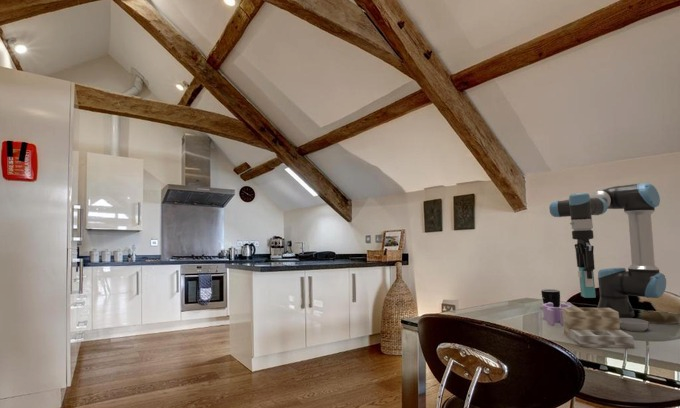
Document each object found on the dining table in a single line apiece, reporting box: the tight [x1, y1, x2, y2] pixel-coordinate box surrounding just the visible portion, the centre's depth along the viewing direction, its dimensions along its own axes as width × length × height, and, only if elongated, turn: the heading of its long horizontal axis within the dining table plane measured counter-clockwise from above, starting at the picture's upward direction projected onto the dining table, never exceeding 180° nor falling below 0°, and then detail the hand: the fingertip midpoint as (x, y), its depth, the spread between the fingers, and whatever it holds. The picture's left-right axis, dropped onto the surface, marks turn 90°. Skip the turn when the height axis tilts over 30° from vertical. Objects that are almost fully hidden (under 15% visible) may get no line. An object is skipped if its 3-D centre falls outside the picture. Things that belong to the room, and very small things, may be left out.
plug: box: [577, 267, 597, 299], centre depth 157 cm, size 5×4×12 cm
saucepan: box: [619, 317, 650, 332], centre depth 164 cm, size 11×18×4 cm, turn 92°
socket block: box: [562, 307, 635, 349], centre depth 151 cm, size 18×18×11 cm
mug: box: [541, 288, 561, 307], centre depth 206 cm, size 12×9×10 cm
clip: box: [542, 302, 573, 327], centre depth 183 cm, size 20×12×7 cm, turn 150°
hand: (587, 285), depth 157 cm, fingers closed on plug, 4 cm apart
